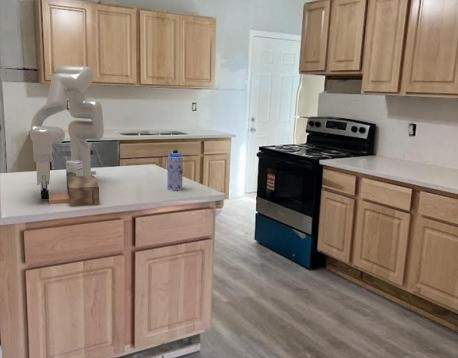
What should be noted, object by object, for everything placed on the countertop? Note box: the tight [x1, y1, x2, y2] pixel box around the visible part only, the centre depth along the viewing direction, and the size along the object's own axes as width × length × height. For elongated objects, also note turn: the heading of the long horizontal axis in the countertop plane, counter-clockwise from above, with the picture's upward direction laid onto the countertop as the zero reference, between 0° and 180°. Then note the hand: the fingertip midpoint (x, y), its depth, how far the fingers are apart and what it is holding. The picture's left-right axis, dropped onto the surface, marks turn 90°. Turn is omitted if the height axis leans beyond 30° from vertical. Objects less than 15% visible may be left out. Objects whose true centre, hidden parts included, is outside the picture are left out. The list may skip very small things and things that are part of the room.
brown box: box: [66, 175, 100, 207], centre depth 199 cm, size 12×22×8 cm, turn 22°
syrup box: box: [65, 159, 83, 192], centre depth 212 cm, size 6×6×14 cm
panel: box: [48, 192, 70, 205], centre depth 197 cm, size 14×10×2 cm
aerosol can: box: [166, 149, 184, 192], centre depth 223 cm, size 8×8×20 cm
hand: (45, 198), depth 194 cm, fingers closed
